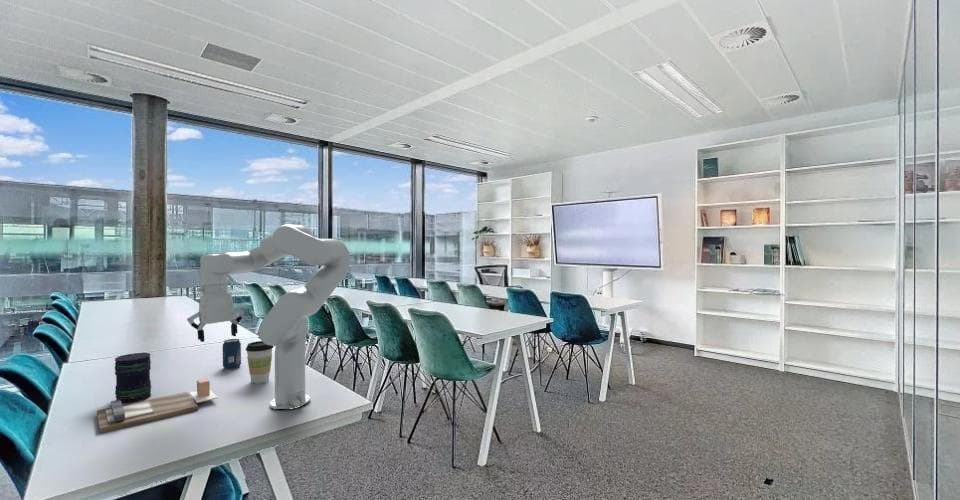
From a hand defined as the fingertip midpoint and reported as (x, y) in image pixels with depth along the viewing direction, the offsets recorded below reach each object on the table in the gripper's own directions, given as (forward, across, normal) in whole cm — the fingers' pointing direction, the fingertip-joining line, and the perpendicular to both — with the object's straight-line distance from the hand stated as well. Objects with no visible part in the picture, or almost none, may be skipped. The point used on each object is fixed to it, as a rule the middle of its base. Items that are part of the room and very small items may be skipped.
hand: (218, 338), depth 148 cm
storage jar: (+20, -22, +23) cm, 38 cm away
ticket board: (+21, -20, +4) cm, 29 cm away
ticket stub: (+20, -5, +4) cm, 21 cm away
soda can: (+20, +13, +40) cm, 47 cm away
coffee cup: (+22, +16, +12) cm, 30 cm away
